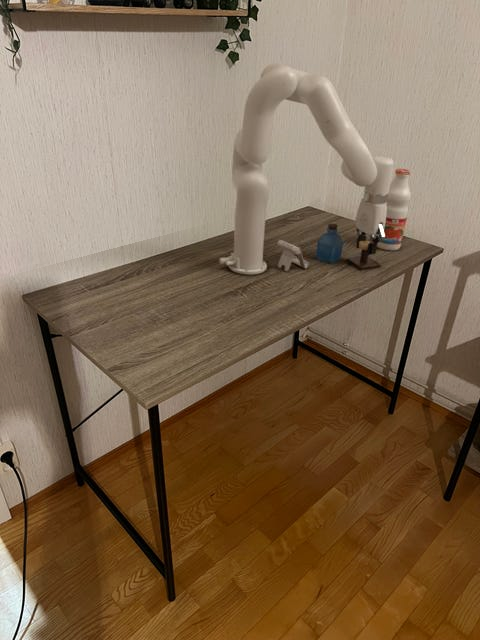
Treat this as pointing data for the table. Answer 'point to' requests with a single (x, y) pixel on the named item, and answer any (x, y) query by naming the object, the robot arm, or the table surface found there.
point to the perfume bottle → (330, 245)
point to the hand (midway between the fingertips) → (365, 250)
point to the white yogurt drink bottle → (396, 211)
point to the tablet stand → (291, 256)
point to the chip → (363, 245)
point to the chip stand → (363, 261)
